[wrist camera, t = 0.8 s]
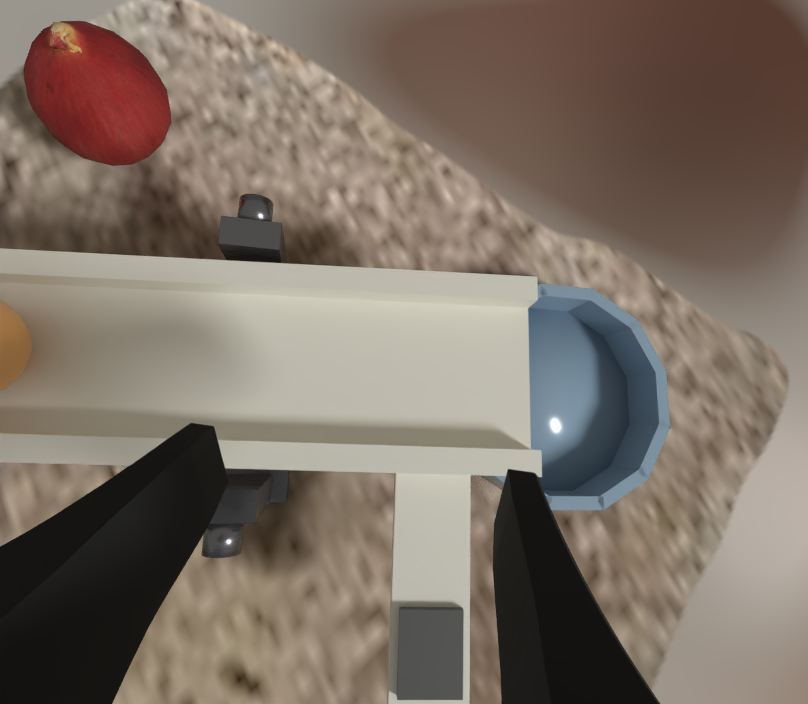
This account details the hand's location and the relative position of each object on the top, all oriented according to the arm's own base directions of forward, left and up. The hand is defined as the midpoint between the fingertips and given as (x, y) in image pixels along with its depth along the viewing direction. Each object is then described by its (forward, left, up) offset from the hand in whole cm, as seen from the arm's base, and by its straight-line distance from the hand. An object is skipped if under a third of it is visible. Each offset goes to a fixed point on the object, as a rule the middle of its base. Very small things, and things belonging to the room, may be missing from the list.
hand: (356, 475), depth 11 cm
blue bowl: (+4, -13, -14) cm, 20 cm away
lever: (-1, +4, -9) cm, 10 cm away
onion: (+17, +12, -14) cm, 25 cm away
